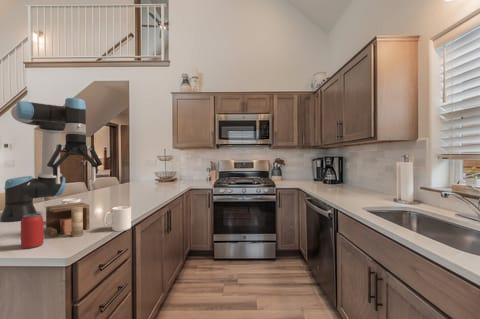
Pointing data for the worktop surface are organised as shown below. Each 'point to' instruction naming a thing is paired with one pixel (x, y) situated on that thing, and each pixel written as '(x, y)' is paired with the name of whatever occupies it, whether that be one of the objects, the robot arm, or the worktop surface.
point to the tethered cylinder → (73, 223)
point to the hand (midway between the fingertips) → (76, 182)
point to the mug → (71, 201)
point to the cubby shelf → (63, 216)
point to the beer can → (31, 231)
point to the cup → (119, 218)
